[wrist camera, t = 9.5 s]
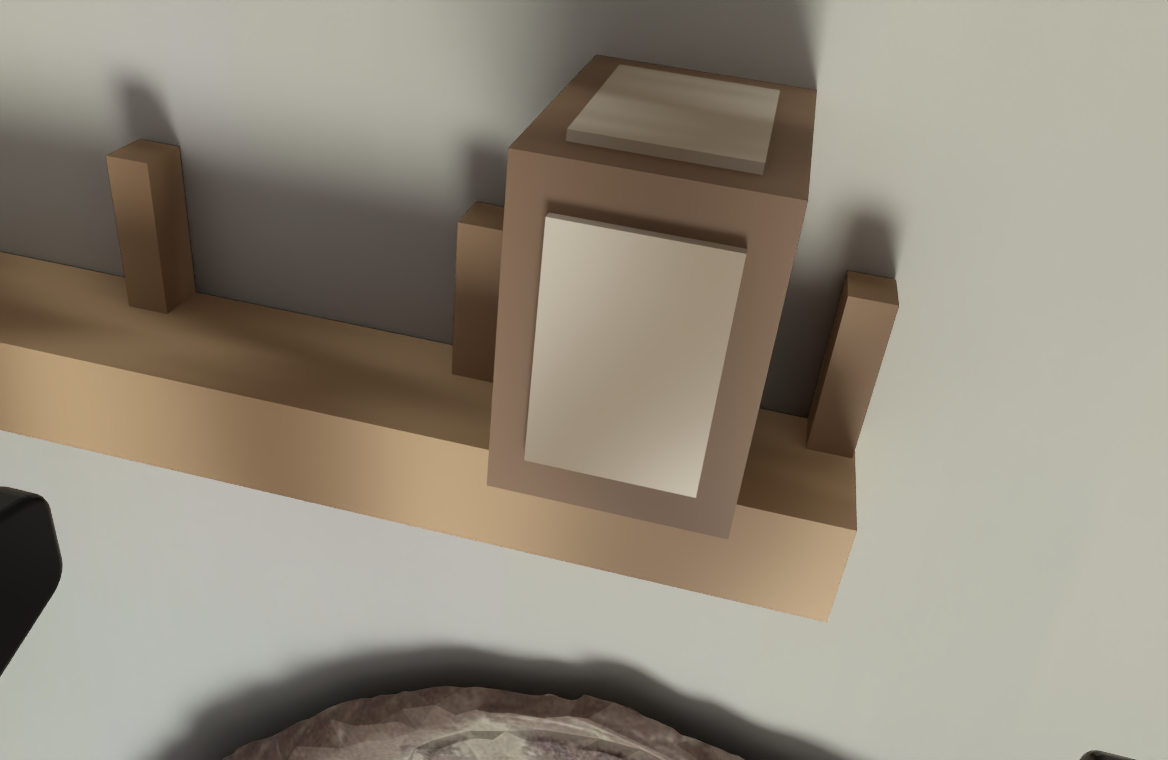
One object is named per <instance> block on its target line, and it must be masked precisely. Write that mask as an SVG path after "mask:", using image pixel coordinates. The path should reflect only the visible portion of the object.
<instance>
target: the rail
mask: <svg viewBox="0 0 1168 760" xmlns="http://www.w3.org/2000/svg"><path fill="white" fill-rule="evenodd" d="M106 161H107V167H108V174H109V180H110V187H111V193H112V200H113V206H114V212H115V219H116V225H117V232H118V238H119V245H120V251H121V257H122V264H123V270H124V277H125V278H124V277H120V276H115V275H110V274H105V273H100V272H95V271H91V270H86V269H81V268H76V267H71V266H66V265H62V264H57V263H52V262H47V261H42V260H37V259H32V258H28V257H23V256H18V255H13V254H8V253H3V252H0V430H3V431H7V432H12V433H16V434H20V435H25V436H29V437H33V438H38V439H42V440H46V441H50V442H55V443H59V444H63V445H68V446H72V447H76V448H80V449H85V450H89V451H93V452H98V453H102V454H106V455H111V456H115V457H119V458H123V459H128V460H132V461H136V462H141V463H145V464H149V465H153V466H158V467H162V468H166V469H171V470H175V471H179V472H183V473H188V474H192V475H196V476H201V477H205V478H209V479H214V480H218V481H222V482H226V483H231V484H235V485H239V486H244V487H248V488H252V489H256V490H261V491H265V492H269V493H274V494H278V495H282V496H287V497H291V498H295V499H299V500H304V501H308V502H312V503H317V504H321V505H325V506H329V507H334V508H338V509H342V510H347V511H351V512H355V513H360V514H364V515H368V516H372V517H377V518H381V519H385V520H390V521H394V522H398V523H402V524H407V525H411V526H415V527H420V528H424V529H428V530H432V531H437V532H441V533H445V534H450V535H454V536H458V537H463V538H467V539H471V540H475V541H480V542H484V543H488V544H493V545H497V546H501V547H505V548H510V549H514V550H518V551H523V552H527V553H531V554H536V555H540V556H544V557H548V558H553V559H557V560H561V561H566V562H570V563H574V564H578V565H583V566H587V567H591V568H596V569H600V570H604V571H608V572H613V573H617V574H621V575H626V576H630V577H634V578H639V579H643V580H647V581H651V582H656V583H660V584H664V585H669V586H673V587H677V588H681V589H686V590H690V591H694V592H699V593H703V594H707V595H712V596H716V597H720V598H724V599H729V600H733V601H737V602H742V603H746V604H750V605H754V606H759V607H763V608H767V609H772V610H776V611H780V612H784V613H789V614H793V615H797V616H802V617H806V618H810V619H815V620H819V621H823V622H827V621H828V618H829V615H830V612H831V609H832V606H833V603H834V600H835V597H836V593H837V590H838V587H839V584H840V581H841V578H842V575H843V572H844V569H845V566H846V563H847V560H848V557H849V554H850V551H851V547H852V544H853V541H854V538H855V535H856V532H857V516H856V476H855V448H856V444H857V441H858V438H859V435H860V431H861V428H862V425H863V422H864V418H865V415H866V412H867V409H868V405H869V402H870V399H871V396H872V392H873V389H874V386H875V383H876V379H877V376H878V373H879V370H880V366H881V363H882V360H883V356H884V353H885V350H886V347H887V343H888V340H889V337H890V334H891V330H892V327H893V324H894V321H895V317H896V314H897V311H898V308H899V301H898V292H897V284H896V280H895V279H889V278H884V277H879V276H873V275H868V274H862V273H857V272H852V271H847V275H846V279H845V282H844V286H843V290H842V293H841V297H840V301H839V304H838V308H837V312H836V315H835V319H834V323H833V327H832V330H831V334H830V338H829V341H828V345H827V349H826V352H825V356H824V360H823V364H822V367H821V371H820V375H819V378H818V382H817V386H816V389H815V393H814V397H813V400H812V404H811V408H810V412H809V415H808V419H807V418H803V417H798V416H793V415H788V414H783V413H778V412H774V411H769V410H764V409H759V411H758V415H757V419H756V424H755V428H754V432H753V436H752V441H751V445H750V449H749V453H748V458H747V462H746V466H745V470H744V475H743V479H742V483H741V487H740V492H739V496H738V500H737V504H736V508H735V513H734V517H733V521H732V525H731V530H730V534H729V538H728V539H723V538H719V537H714V536H710V535H706V534H701V533H697V532H692V531H688V530H683V529H679V528H674V527H670V526H665V525H661V524H657V523H652V522H648V521H643V520H639V519H634V518H630V517H625V516H621V515H616V514H612V513H607V512H603V511H599V510H594V509H590V508H585V507H581V506H576V505H572V504H567V503H563V502H558V501H554V500H549V499H545V498H541V497H536V496H532V495H527V494H523V493H518V492H514V491H509V490H505V489H500V488H496V487H491V486H487V472H488V456H489V441H490V425H491V409H492V394H493V378H494V363H495V347H496V331H497V316H498V300H499V284H500V269H501V253H502V238H503V222H504V207H502V206H496V205H491V204H486V203H480V202H475V204H474V205H473V206H472V207H471V208H470V209H469V210H468V211H467V212H466V214H465V215H464V216H463V217H462V218H461V219H460V220H459V221H458V228H457V253H456V278H455V303H454V328H453V345H449V344H444V343H439V342H435V341H430V340H425V339H420V338H415V337H410V336H405V335H401V334H396V333H391V332H386V331H381V330H376V329H372V328H367V327H362V326H357V325H352V324H347V323H342V322H338V321H333V320H328V319H323V318H318V317H313V316H309V315H304V314H299V313H294V312H289V311H284V310H280V309H275V308H270V307H265V306H260V305H255V304H250V303H246V302H241V301H236V300H231V299H226V298H221V297H217V296H212V295H207V294H202V293H197V292H196V289H195V280H194V272H193V263H192V254H191V245H190V237H189V228H188V219H187V210H186V202H185V193H184V184H183V175H182V167H181V158H180V149H179V146H174V145H168V144H163V143H157V142H152V141H147V140H141V139H139V140H137V141H135V142H133V143H131V144H129V145H127V146H124V147H122V148H120V149H118V150H116V151H114V152H112V153H110V154H108V155H106Z"/></svg>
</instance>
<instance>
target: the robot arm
mask: <svg viewBox="0 0 1168 760" xmlns="http://www.w3.org/2000/svg"><path fill="white" fill-rule="evenodd" d="M61 574H62V557H61V553H60V549H59V544H58V540H57V536H56V531H55V527H54V523H53V518H52V514H51V509H50V507H49V504H48V503H47V501H46V500H45V499H44V498H43V497H42V496H40V495H38V494H35V493H30V492H26V491H22V490H18V489H14V488H10V487H0V676H1V675H2V673H3V672H4V670H5V668H6V667H7V665H8V664H9V662H10V661H11V659H12V658H13V656H14V654H15V653H16V651H17V650H18V648H19V647H20V645H21V643H22V642H23V640H24V639H25V637H26V636H27V634H28V633H29V631H30V629H31V628H32V626H33V625H34V623H35V622H36V620H37V619H38V617H39V615H40V614H41V612H42V611H43V609H44V608H45V606H46V604H47V603H48V601H49V600H50V598H51V597H52V595H53V594H54V592H55V590H56V588H57V586H58V583H59V581H60V578H61ZM1080 760H1135V759H1131V758H1127V757H1123V756H1119V755H1115V754H1110V753H1106V752H1102V751H1098V750H1093V751H1089V752H1087V753H1086V754H1084V755H1083V756H1082V757H1081V759H1080Z"/></svg>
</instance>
